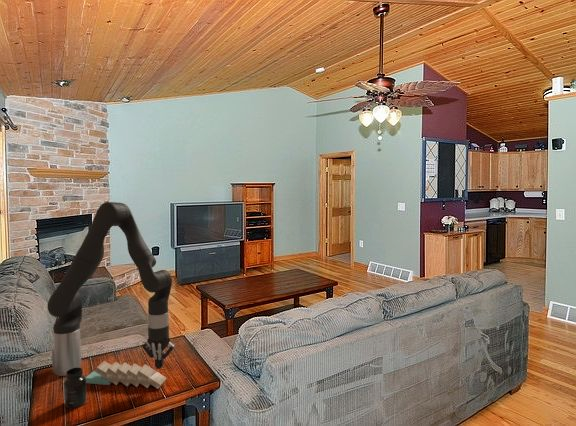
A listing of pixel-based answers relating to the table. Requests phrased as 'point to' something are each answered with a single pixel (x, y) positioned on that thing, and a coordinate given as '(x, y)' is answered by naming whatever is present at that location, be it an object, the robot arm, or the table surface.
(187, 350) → the table surface
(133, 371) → the domino
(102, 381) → the domino
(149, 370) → the domino
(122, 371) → the domino
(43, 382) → the table surface
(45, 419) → the table surface
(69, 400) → the supplement bottle
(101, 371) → the domino
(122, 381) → the domino
